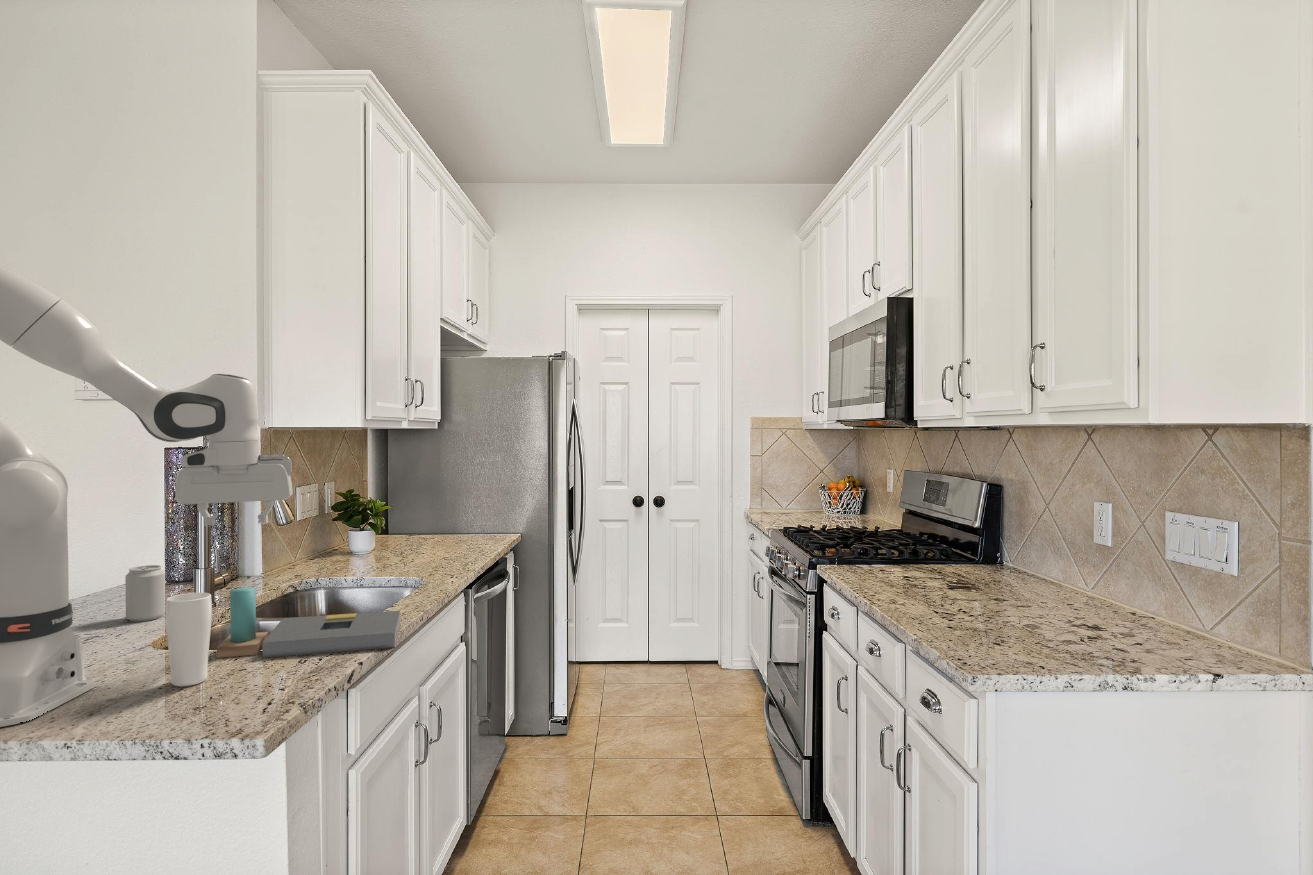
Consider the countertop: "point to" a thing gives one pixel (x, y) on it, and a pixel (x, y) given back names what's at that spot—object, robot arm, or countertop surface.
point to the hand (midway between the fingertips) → (236, 524)
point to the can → (145, 593)
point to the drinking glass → (188, 637)
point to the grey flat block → (332, 634)
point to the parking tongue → (241, 646)
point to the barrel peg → (243, 614)
